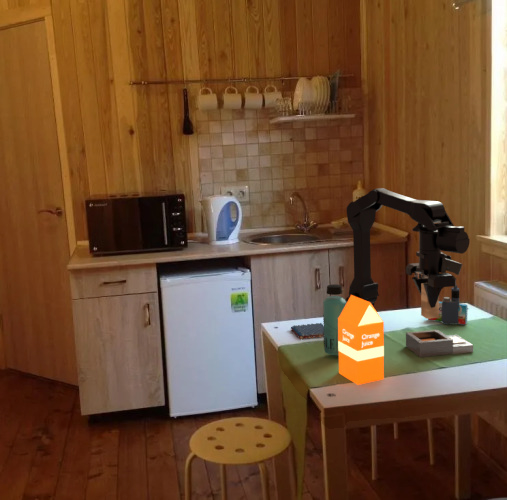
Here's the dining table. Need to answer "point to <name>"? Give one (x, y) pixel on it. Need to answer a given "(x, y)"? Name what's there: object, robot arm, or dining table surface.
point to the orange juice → (360, 342)
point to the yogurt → (461, 314)
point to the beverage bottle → (332, 318)
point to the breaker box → (436, 343)
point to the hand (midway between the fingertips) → (429, 305)
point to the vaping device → (451, 307)
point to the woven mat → (308, 330)
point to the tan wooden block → (428, 306)
